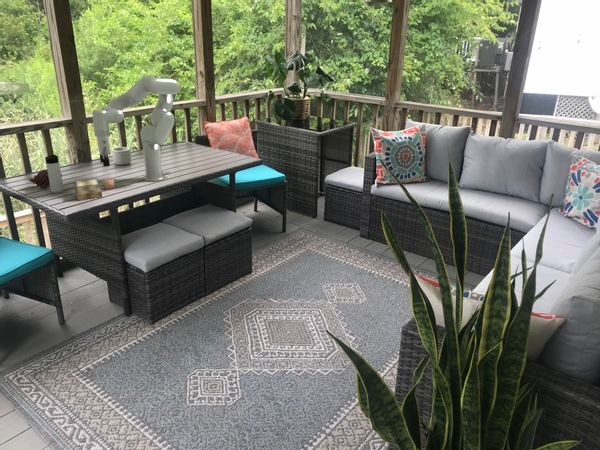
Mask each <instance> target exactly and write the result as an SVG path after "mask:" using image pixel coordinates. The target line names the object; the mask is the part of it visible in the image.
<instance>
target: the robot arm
mask: <svg viewBox="0 0 600 450" xmlns="http://www.w3.org/2000/svg"><path fill="white" fill-rule="evenodd" d="M179 91H180V84H179V82H178V80H176V79H173V78H166V77H160V78H158V77H153V76H142V77H141V78H140V79H139V80H137V81H136V82H135V83H134V84H133V85H132V86H131V87H130V88H129V89H128V90H127V91H126V92H124V93H122V94H120V95H119V96H117V97H115V98H114V99H112V100H111V101H110V102H108V103H107V104H106V105H105V107H104V108H102V109H99V108H98V109H97V108H96V109H94V110H93V111H92V122H93V123H92V124H93V133H94V137H96V139H97V147H98V152H99V158H100V163H102V165H103V167H110V165H111V163H110V157H109V156H110V155H112V154H111V147H110V140H109V137H110V127H109V126H110V125H109V124H119V123H122V122H123V121H124V119H125V115H124V112H123V110H124V109H127V108H129V107H133V106H137V105H138V104H140V103H141V102H142V101H143V99H145V98H147V96H148V95H150V93H151V94H154V95H155V94H157V95H158V100H157V103H156V105H155V107H154V108H153V110H152V113H151V115H150V118H149V119H150V122H151V123H152V124H153V125H148V124H147V125H145V126H143V127H141V129H140V132H139V134H140V135H139V136H140V140H141V145H142V149H143V160H144V161H143V162H144V170H145V175H144V176H143V180H144V181H147V182H159V181H163V180H166V175H171V171H167V170H163V168H162V167H163V165H162V155H161V154H162V153H161V152H162V151H161V145H163V144H165V142H166V141H167V139H168V137H169V136H170V133H171V131H172V129H173V128H174V125H175V115H174V114H173V113H172V112H171V110H172V108H173V106H174V96H173V95H176V94H178V93H179ZM154 125H155V126H154Z"/></svg>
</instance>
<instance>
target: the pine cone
mask: <svg viewBox="0 0 600 450" xmlns="http://www.w3.org/2000/svg"><path fill="white" fill-rule="evenodd" d="M61 177H62V178H63V174H62V173H61ZM28 181H29V182H30V183H32V184H33V185H36V186H37V187H39V188H45V189H46V188H47V187H48V186H50V183H49V177H48V172H47V169H42V170H39V172H38V173H36V175H35V174H34V175H33V177H30V178H29V179H28Z"/></svg>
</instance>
